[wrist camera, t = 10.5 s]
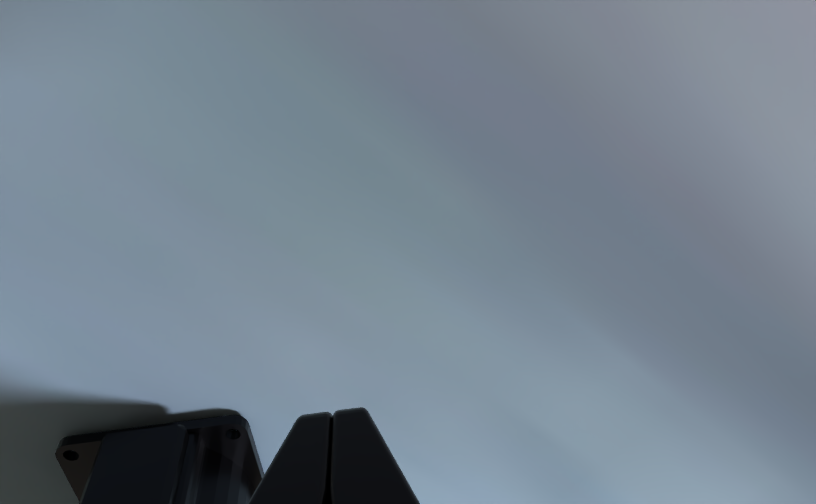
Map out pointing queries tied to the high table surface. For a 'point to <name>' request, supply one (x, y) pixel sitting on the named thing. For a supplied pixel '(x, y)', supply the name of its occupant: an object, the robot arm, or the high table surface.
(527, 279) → the high table surface
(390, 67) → the high table surface
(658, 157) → the high table surface
